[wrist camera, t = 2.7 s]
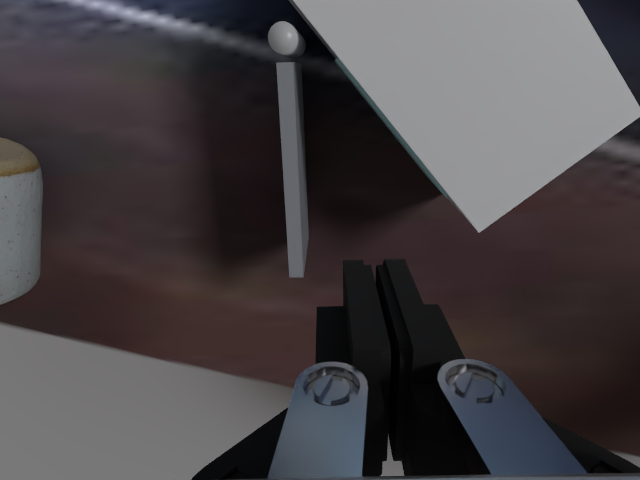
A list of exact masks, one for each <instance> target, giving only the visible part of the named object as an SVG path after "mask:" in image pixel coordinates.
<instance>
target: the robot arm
mask: <svg viewBox="0 0 640 480" xmlns="http://www.w3.org/2000/svg"><path fill="white" fill-rule="evenodd" d="M388 435H389V440H390V446H391V452H392V457H393V460H394V461H402V465H403V470H404V475H405V476H380V475H381V474H382V461H386V460H387V443H388ZM192 480H640V468H639V467H637V466H636V465H634V464H632V463H631V462H629V461H627V460H625V459H623V458H621V457H619V456H617V455H615V454H614V453H612V452H610V451H608V450H606V449H604V448H602V447H600V446H598V445H596V444H594V443H592V442H590V441H588V440H586V439H584V438H582V437H580V436H578V435H576V434H574V433H572V432H570V431H568V430H566V429H564V428H562V427H560V426H558V425H556V424H554V423H552V422H550V421H548V420H546V419H544V418H542V417H541V416H540V415H539V414H538V412H537V411H536V410H535V409H534V408H533V406H532V405H531V404H530V403H529V401H528V400H527V399H526V398H525V397H524V395H523V394H522V393H521V392H520V391H519V389H518V388H517V387H516V386H515V385H514V383H513V382H512V381H511V380H510V378H509V377H508V376H506V375H505V374H504V373H503V372H502V371H501V370H499V369H498V368H496V367H494V366H492V365H490V364H487V363H485V362H482V361H478V360H472V359H465V357H464V355H463V353H462V351H461V349H460V347H459V345H458V343H457V341H456V339H455V337H454V335H453V333H452V331H451V329H450V327H449V325H448V323H447V321H446V319H445V316H444V314H443V312H442V310H441V308H440V307H439V305H437V304H426V305H424V304H423V301H422V299H421V297H420V294H419V292H418V290H417V287H416V285H415V283H414V280H413V278H412V276H411V273H410V271H409V269H408V266H407V264H406V262H405V260H404V259H391V260H384V262H383V265H377V266H376V284H375V280H374V276H373V272H372V268H371V265H364V262H363V260H348V261H343V306H333V307H317V325H316V364H315V365H313V366H311V367H309V368H307V369H306V370H305V371H303V372H302V373H301V374H300V376H299V377H298V379H297V381H296V384H295V387H294V391H293V394H292V398H291V401H290V404H289V407H288V408H286V409H285V410H284V411H282V412H281V413H280V414H278V415H277V416H275V417H274V418H273V419H271V420H270V421H268V422H267V423H266V424H264V425H263V426H261V427H260V428H258V429H257V430H256V431H254V432H253V433H252V434H250V435H249V436H247V437H246V438H244V439H243V440H242V441H240V442H239V443H237V444H236V445H235V446H233V447H232V448H230V449H229V450H228V451H226V452H225V453H223V454H222V455H221V456H220V457H218V458H216V459H215V460H214V461H212V462H211V463H209V464H208V465H207V466H205V467H204V468H203V469H202V470H201V471H199V472H198V473H197V474H196V475H195V476H194V477H193V478H192Z"/></svg>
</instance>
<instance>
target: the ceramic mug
mask: <svg viewBox="0 0 640 480" xmlns="http://www.w3.org/2000/svg"><path fill="white" fill-rule="evenodd" d="M42 199H43V180H42V174H41V168H40V164H39V162H38V159H37V157H36V156H35V155H34V154H33V153H32V152H31V151H30V150H28V149H27V148H26V147H24V146H23V145H21V144H19V143H16V142H14V141H11V140H9V139H5V138H1V137H0V305H1V304H4V303H7V302H9V301H11V300H13V299H16V298H18V297H20V296H22V295H23V294H25V293H27V292H28V291H29V290H30V289H31V288H32V287H33V286H34V285H35V284H36V282H37V281H38V279H39V277H40V270H41V229H42Z"/></svg>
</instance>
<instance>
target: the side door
mask: <svg viewBox="0 0 640 480" xmlns="http://www.w3.org/2000/svg"><path fill="white" fill-rule="evenodd" d="M268 42H269V45H270V47H271V48H272V49H273V50H274V51H275V52H277V53H279V54H282V55H286V56H289V57H293V58H297V57H300V56H301V55H302V54H303V53H304V51H305V49H306V43H305V40H304V38H303V37H302V36H301V34H300V33H299V32H298V31H297V30H296V29H295V28H294V27H293V26H292V25H291V24H290V23H288V22H285V21H280V22H277V23H275V24H274V25H273V26H272V27H271V28H270V30H269V33H268ZM276 66H277V83H278V99H279V115H280V131H281V147H282V164H283V180H284V196H285V212H286V228H287V244H288V261H289V277H303V276H304V268H305V261H306V253H307V246H308V238H309V230H308V206H307V181H306V157H305V132H304V108H303V83H302V63H296V62H278V63H276Z"/></svg>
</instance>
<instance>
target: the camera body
mask: <svg viewBox="0 0 640 480" xmlns="http://www.w3.org/2000/svg"><path fill="white" fill-rule="evenodd" d="M289 2H290V3H291V4H292V5H293V7H294V8H295V9H296V10H297V12H298V13H299V14H300V15H301V17H302V18H303V19H304V20H305V22H306V23H307V24H308V25H309V27H310V28H311V29H312V30H313V32H314V33H315V34H316V35H317V37H318V38H319V39H320V40H321V42H322V43H323V44H324V45H325V47H326V48H327V49H328V50H329V51H330V53H331V54H332V55H333V56H334V58H335V61H334V62H335V63H336V64H337V65H338V67H339V68H340V69H341V70H342V72H343V73H344V74H345V75H346V77H347V78H348V79H349V80H350V82H351V83H352V84H353V85H354V87H355V88H356V89H357V90H358V92H359V93H360V94H361V95H362V97H363V98H364V99H365V100H366V101H367V103H368V104H369V105H370V106H371V108H372V109H373V110H374V111H375V113H376V114H377V115H378V116H379V118H380V119H381V120H382V121H383V123H384V124H385V125H386V126H387V128H388V129H389V130H390V131H391V132H392V134H393V135H394V136H395V137H396V139H397V140H398V141H399V142H400V144H401V145H402V146H403V147H404V149H405V150H406V151H407V152H408V154H409V155H410V156H411V157H412V159H413V160H414V161H415V162H416V163H417V165H418V166H419V167H420V168H421V170H422V171H423V172H424V173H425V175H426V176H427V177H428V178H429V179H430V180H431V182H432V183H433V184H434V185H435V186H436V187H437V188H438V189H439V190H440V192H441V193H442V194H443V195H444V196H445V197H446V198H448V199H449V200H450V201H451V202H452V203H453V205H454V206H455V207H456V208H457V209H458V210H459V211H460V212H461V213H462V215H463V216H464V217H465V218H466V219H467V220H468V221H469V222H470V223H471V224H472V226H473V227H474V228H475V229H476V230H477V231H478V232H481V231H482V230H483V229H485V228H486V227H488V226H489V225H490V224H492V223H493V222H495V221H496V220H497V219H499V218H500V217H501V216H503V215H504V214H506V213H507V212H508V211H510V210H511V209H513V208H514V207H515V206H517V205H518V204H520V203H521V202H522V201H524V200H525V199H526V198H528V197H529V196H531V195H532V194H533V193H535V192H536V191H538V190H539V189H540V188H542V187H543V186H544V185H546V184H547V183H549V182H550V181H551V180H553V179H554V178H556V177H557V176H558V175H560V174H561V173H562V172H564V171H565V170H567V169H568V168H569V167H571V166H572V165H574V164H575V163H576V162H578V161H579V160H580V159H582V158H583V157H585V156H586V155H587V154H589V153H590V152H592V151H593V150H594V149H596V148H597V147H598V146H600V145H601V144H603V143H604V142H605V141H607V140H608V139H610V138H611V137H612V136H614V135H615V134H616V133H618V132H619V131H621V130H622V129H623V128H625V127H626V126H628V125H629V124H630V123H632V122H633V121H634V120H636V119H637V118H639V117H640V107H639V105H638V103H637V101H636V100H635V98H634V96H633V95H632V93H631V91H630V90H629V88H628V86H627V84H626V83H625V81H624V79H623V78H622V76H621V74H620V73H619V71H618V69H617V67H616V66H615V64H614V62H613V61H612V59H611V57H610V56H609V54H608V52H607V50H606V49H605V47H604V45H603V44H602V42H601V40H600V39H599V37H598V35H597V33H596V32H595V30H594V28H593V27H592V25H591V23H590V22H589V20H588V18H587V16H586V15H585V13H584V11H583V10H582V8H581V6H580V5H579V3H578V1H577V0H289Z"/></svg>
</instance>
